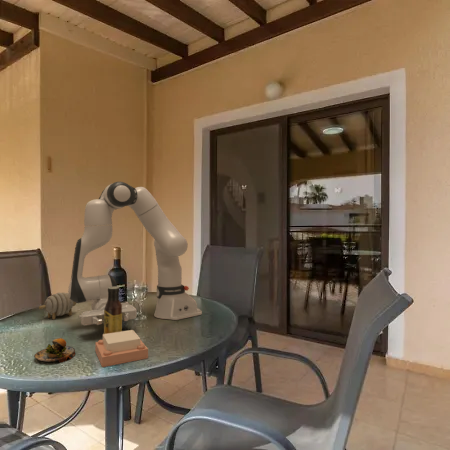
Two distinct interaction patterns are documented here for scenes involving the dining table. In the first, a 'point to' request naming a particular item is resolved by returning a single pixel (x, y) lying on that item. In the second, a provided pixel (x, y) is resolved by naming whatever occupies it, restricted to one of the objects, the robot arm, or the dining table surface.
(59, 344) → the burger
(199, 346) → the dining table surface
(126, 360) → the brick stack
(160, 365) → the dining table surface
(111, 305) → the sauce bottle
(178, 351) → the dining table surface
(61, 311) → the toy sheep
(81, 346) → the dining table surface
